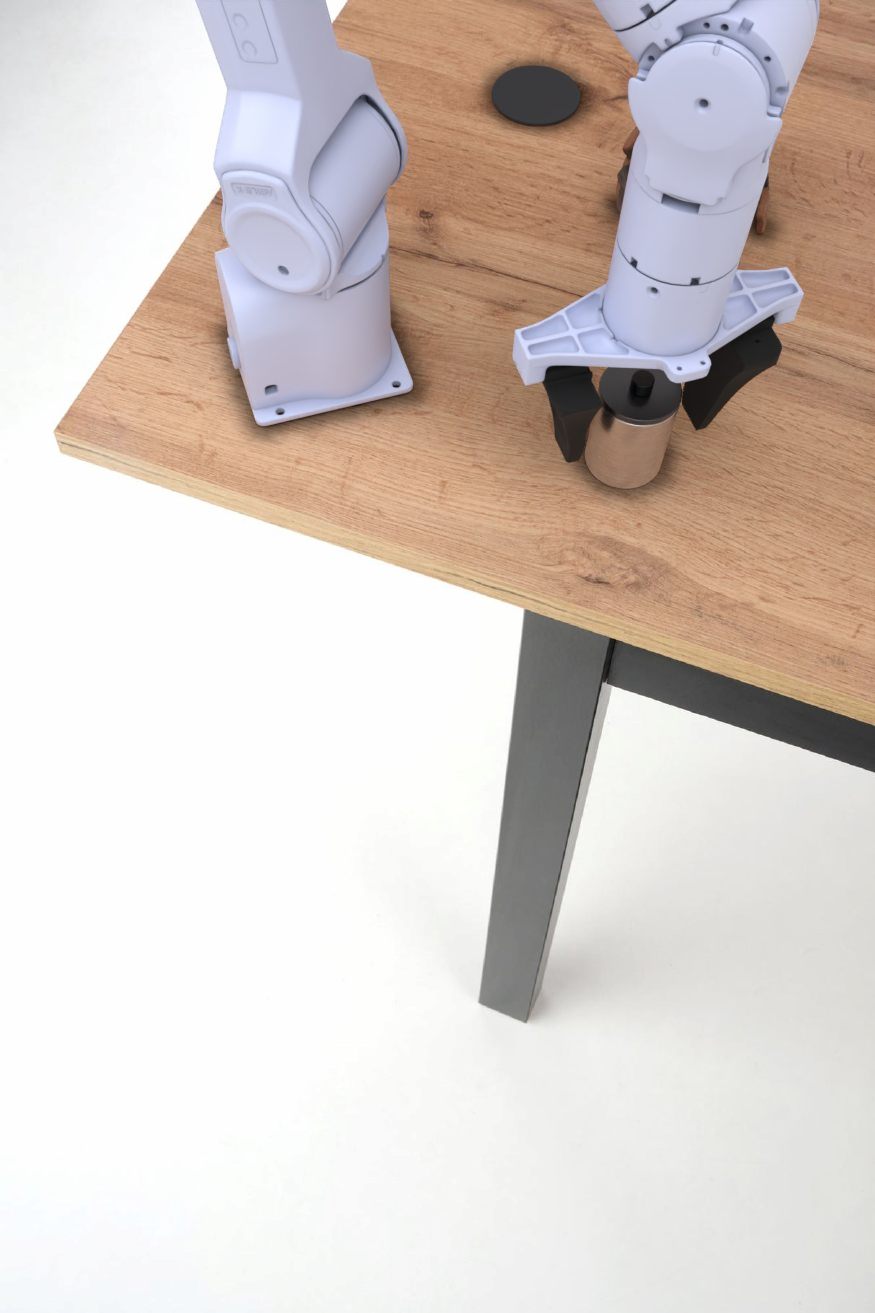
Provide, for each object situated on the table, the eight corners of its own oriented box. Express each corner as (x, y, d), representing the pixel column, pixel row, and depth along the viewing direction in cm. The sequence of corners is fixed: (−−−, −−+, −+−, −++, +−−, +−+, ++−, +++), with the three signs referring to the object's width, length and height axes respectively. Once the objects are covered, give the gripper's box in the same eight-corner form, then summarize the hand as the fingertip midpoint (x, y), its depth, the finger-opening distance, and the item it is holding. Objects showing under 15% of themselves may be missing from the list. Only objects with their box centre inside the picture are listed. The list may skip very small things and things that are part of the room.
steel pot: (601, 497, 66) (620, 419, 60) (573, 437, 68) (589, 356, 62) (673, 478, 66) (699, 399, 60) (643, 420, 68) (665, 338, 62)
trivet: (508, 133, 80) (509, 130, 80) (479, 76, 83) (479, 73, 82) (593, 116, 81) (593, 113, 81) (561, 60, 84) (561, 58, 83)
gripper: (560, 339, 50) (533, 520, 62) (863, 268, 52) (780, 456, 64) (506, 227, 53) (489, 420, 65) (794, 164, 55) (727, 362, 67)
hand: (630, 431), depth 65 cm, fingers open, 7 cm apart
